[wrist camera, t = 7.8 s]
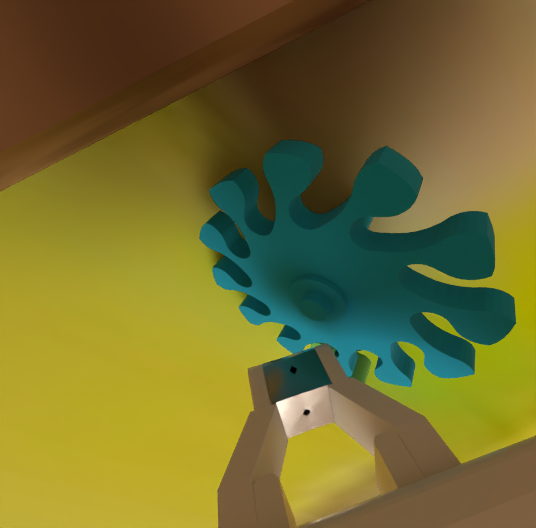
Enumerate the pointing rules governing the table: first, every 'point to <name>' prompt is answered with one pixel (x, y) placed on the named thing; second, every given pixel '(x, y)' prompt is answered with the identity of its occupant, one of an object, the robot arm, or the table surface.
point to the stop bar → (123, 63)
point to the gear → (356, 267)
